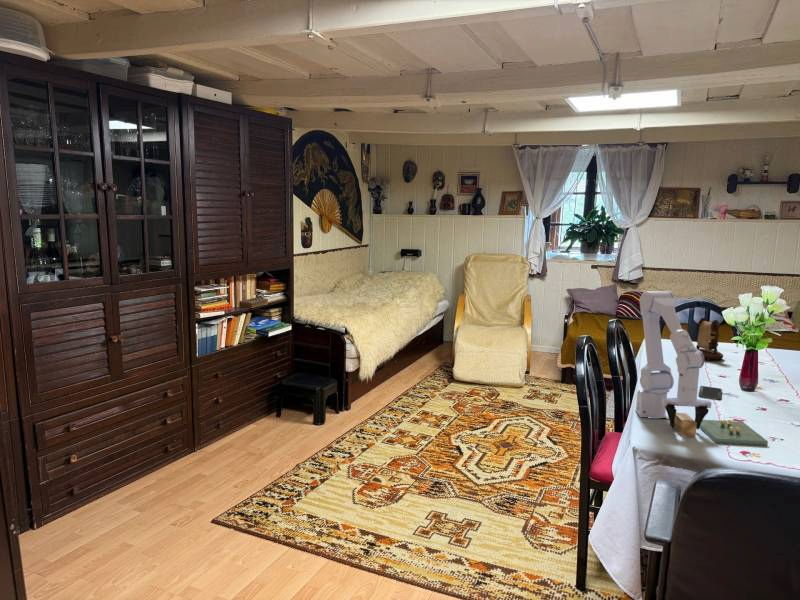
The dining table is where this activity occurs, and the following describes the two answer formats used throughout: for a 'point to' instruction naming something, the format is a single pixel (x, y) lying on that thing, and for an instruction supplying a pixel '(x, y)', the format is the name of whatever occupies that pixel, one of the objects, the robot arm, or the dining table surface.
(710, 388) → the phone
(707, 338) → the brown wooden ornament
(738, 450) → the dining table surface
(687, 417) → the oak block
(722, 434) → the green slab
